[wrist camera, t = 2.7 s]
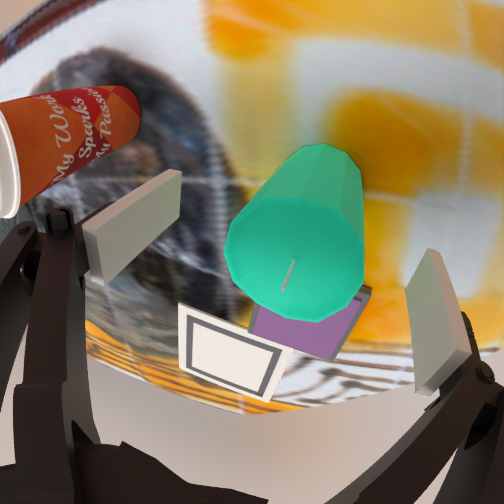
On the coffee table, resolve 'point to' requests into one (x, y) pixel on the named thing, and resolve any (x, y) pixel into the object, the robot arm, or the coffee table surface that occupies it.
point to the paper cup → (59, 137)
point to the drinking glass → (14, 221)
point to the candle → (302, 236)
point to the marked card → (229, 354)
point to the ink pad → (310, 328)
